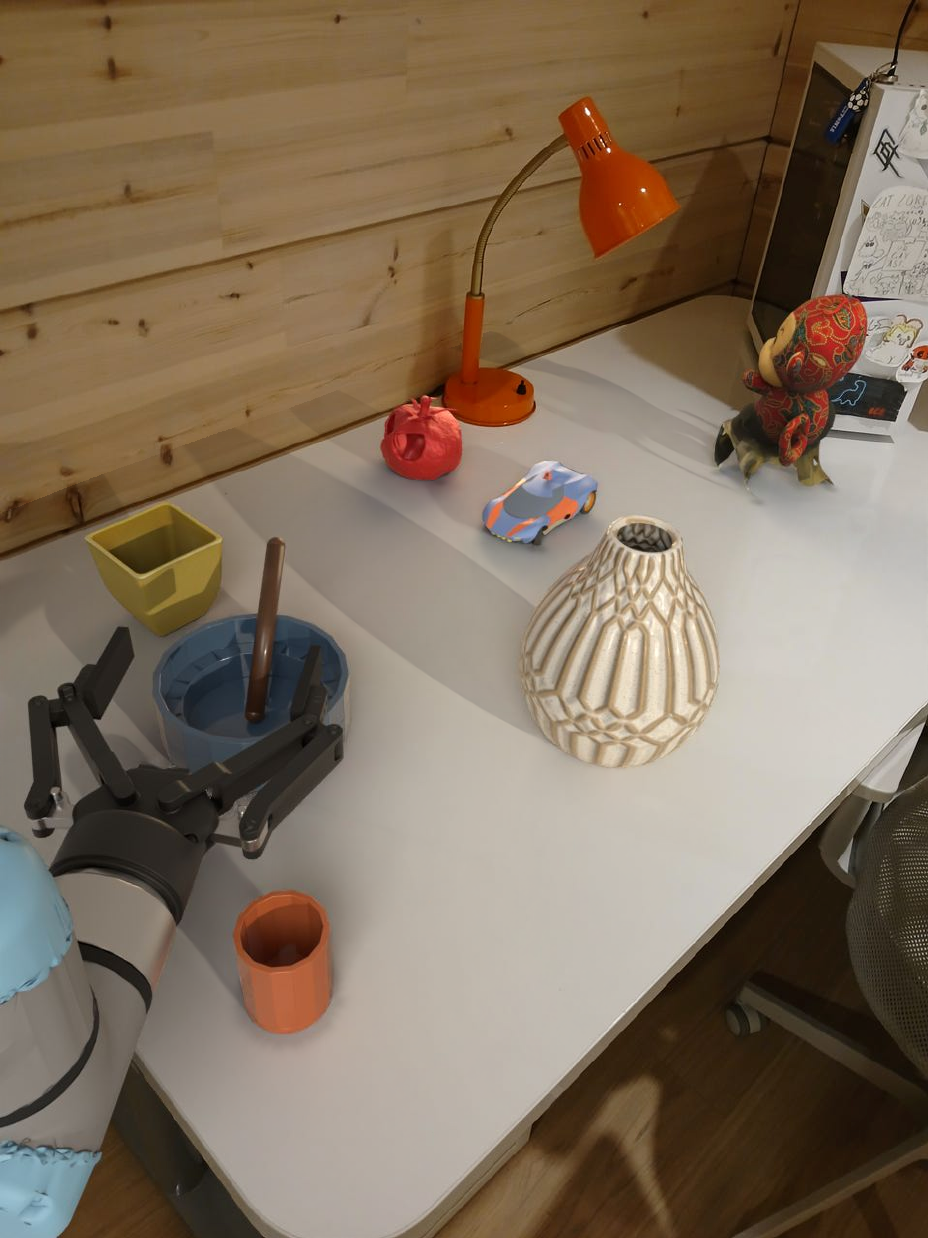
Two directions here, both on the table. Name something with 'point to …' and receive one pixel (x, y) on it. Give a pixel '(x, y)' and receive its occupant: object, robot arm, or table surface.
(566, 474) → the toy car
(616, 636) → the vase
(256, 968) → the holder
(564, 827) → the table surface
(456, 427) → the pomegranate
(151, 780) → the robot arm
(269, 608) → the stick
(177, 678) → the bowl
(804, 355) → the stuffed monkey
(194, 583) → the flower pot
